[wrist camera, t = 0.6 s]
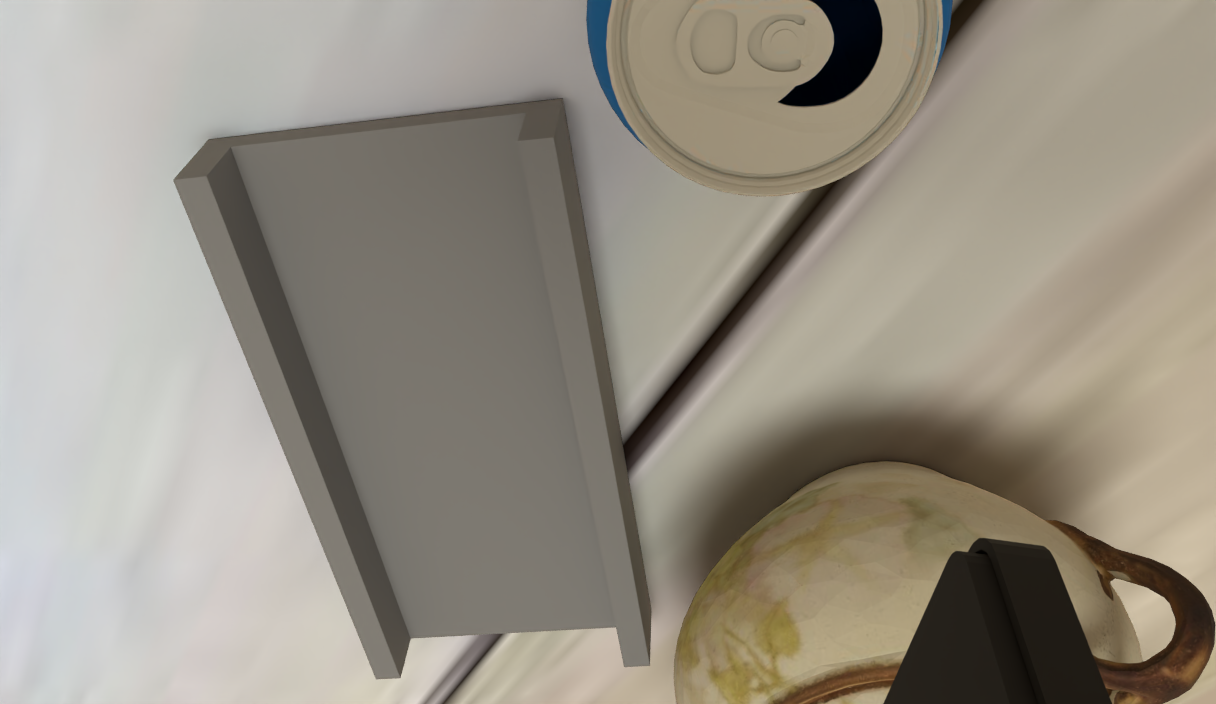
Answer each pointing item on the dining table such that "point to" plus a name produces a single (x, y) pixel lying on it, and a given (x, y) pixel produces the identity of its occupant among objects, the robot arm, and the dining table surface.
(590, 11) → the beverage can
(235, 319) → the tray
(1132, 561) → the sugar bowl
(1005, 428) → the dining table surface
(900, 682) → the robot arm
